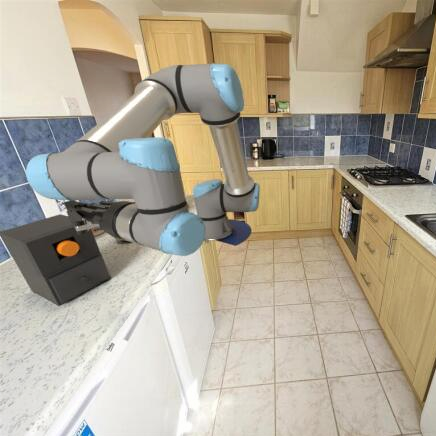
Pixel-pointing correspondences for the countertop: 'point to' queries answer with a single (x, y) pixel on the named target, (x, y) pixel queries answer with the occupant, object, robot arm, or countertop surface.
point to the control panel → (47, 244)
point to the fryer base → (43, 284)
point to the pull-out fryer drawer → (79, 278)
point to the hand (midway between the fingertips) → (69, 206)
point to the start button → (67, 248)
